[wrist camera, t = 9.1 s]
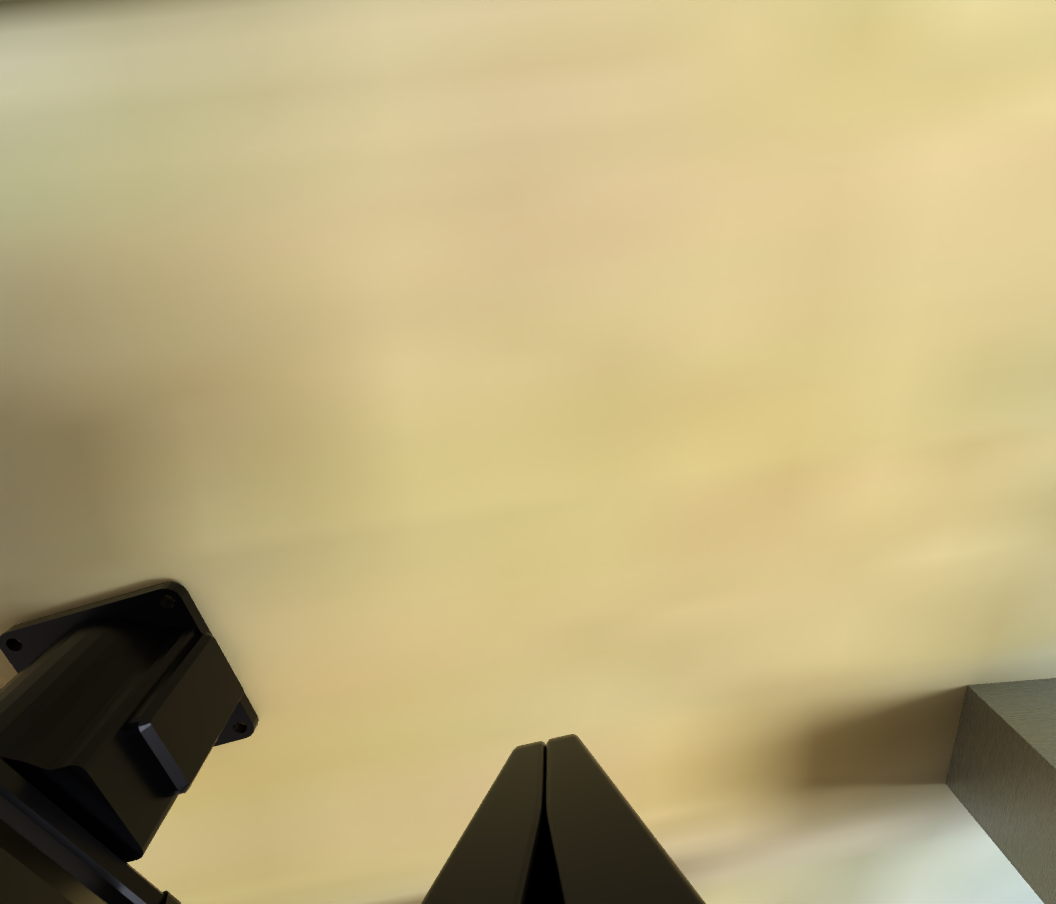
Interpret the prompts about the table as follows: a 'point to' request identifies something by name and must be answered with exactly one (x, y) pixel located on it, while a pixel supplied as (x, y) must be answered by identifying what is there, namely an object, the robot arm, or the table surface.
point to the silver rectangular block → (1011, 773)
